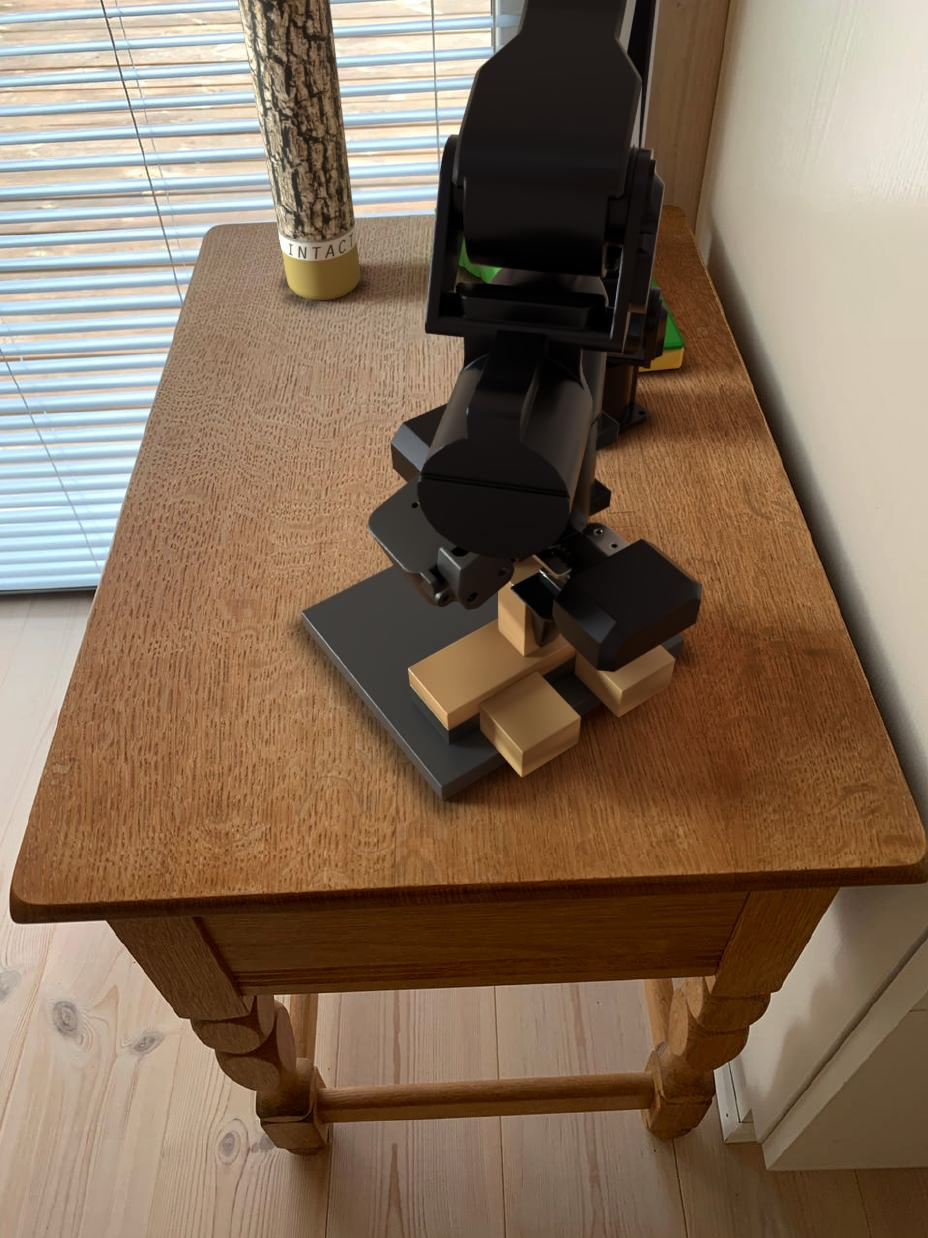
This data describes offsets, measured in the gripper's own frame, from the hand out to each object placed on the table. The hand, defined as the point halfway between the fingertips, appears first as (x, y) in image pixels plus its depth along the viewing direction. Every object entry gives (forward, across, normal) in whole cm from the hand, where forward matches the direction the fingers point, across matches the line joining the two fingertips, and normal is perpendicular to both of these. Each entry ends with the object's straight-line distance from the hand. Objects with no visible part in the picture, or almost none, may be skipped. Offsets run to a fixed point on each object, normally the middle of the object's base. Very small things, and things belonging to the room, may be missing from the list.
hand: (529, 627), depth 56 cm
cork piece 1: (+4, +4, -3) cm, 6 cm away
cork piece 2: (+4, +4, +4) cm, 7 cm away
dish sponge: (+5, -26, +30) cm, 40 cm away
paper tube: (+5, -48, +13) cm, 50 cm away
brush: (+4, 0, 0) cm, 4 cm away
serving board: (+5, -4, 0) cm, 7 cm away
